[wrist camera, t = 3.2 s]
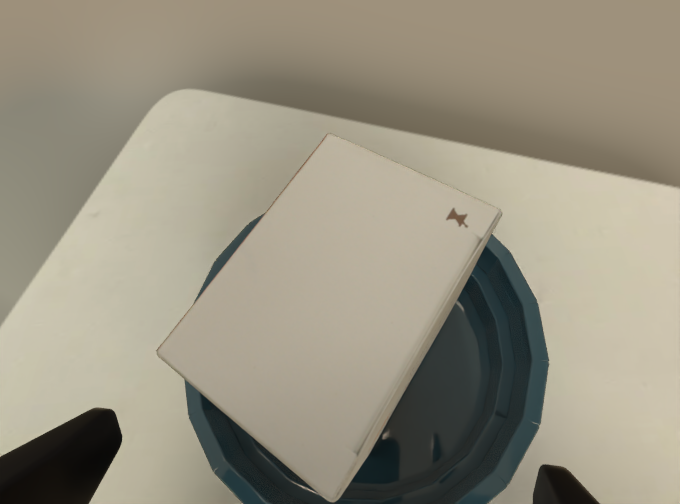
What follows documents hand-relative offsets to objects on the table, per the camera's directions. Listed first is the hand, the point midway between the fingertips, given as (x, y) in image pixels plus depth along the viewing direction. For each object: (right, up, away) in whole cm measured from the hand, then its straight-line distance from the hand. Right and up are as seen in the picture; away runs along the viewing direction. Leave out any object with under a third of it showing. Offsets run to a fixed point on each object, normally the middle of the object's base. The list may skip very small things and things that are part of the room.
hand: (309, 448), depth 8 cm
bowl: (+2, -1, +11) cm, 11 cm away
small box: (+2, -1, +11) cm, 11 cm away
